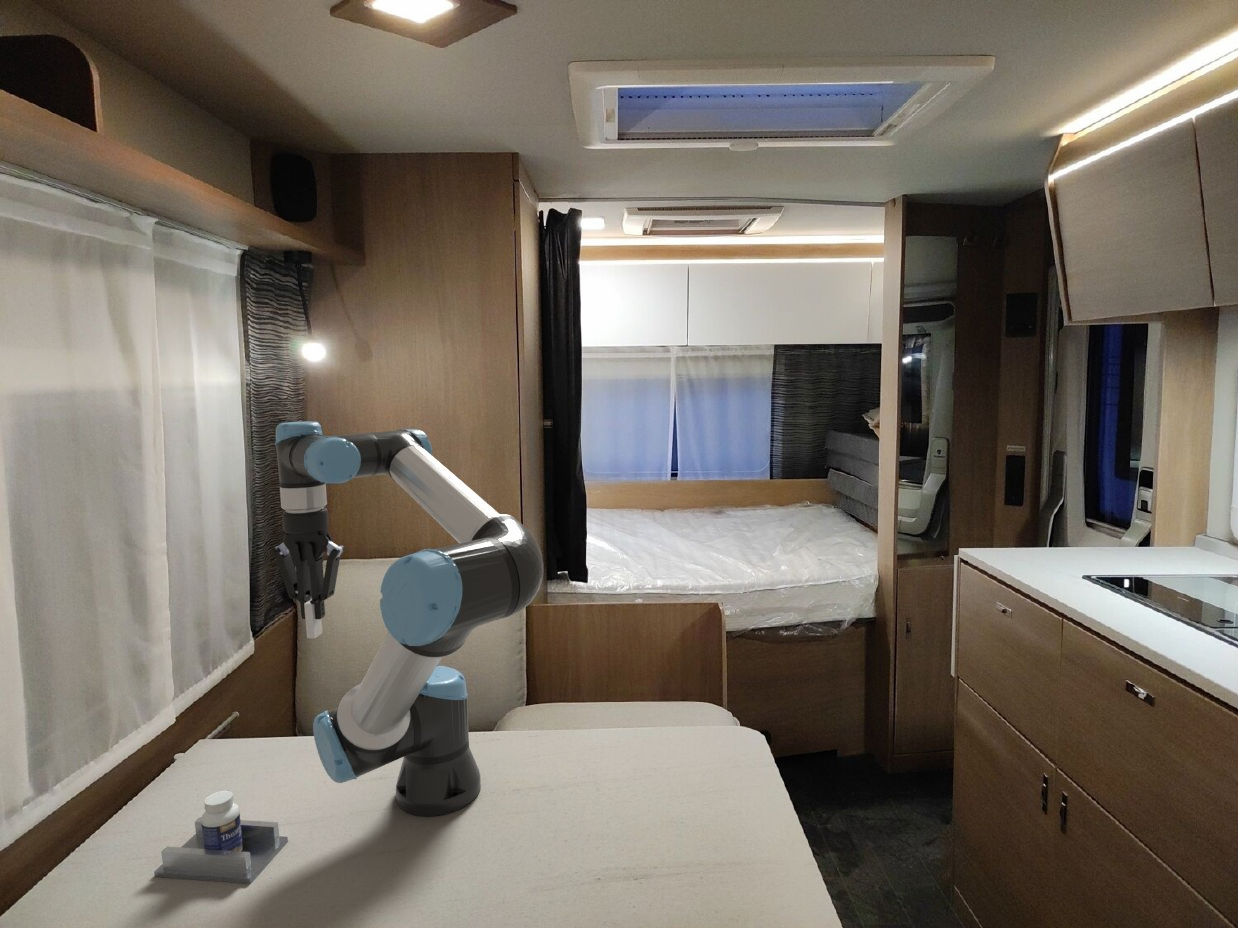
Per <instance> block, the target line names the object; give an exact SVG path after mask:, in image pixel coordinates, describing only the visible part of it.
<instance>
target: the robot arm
mask: <svg viewBox="0 0 1238 928" xmlns="http://www.w3.org/2000/svg"><path fill="white" fill-rule="evenodd" d="M274 446H275V449H276V458H277V468H278V481H279V494H280V495H279V497H280V508H282V509H283V510H284V511H283V512H282V513H281V518H282V519H281V520H282V529H283V530H282V531H283V532H284V536H283V538H282V543H280V544H279V545H277V546H275V547H273V548H271V554H272V555H273V556H274V558H275V560H276V561H277V563H278V566H279V570H280V573H281V576H282V579H283V583H284V585H285V589H286V592H287V595H288V598H289V599H290V600H297V602H299V604H300V605H299V606H300V617H301V619H302V620H305V630H306V638H307V639H316V638H318V637H319V636H320V635H322V634H323V622H322V619H323V618H325V616H326V609H325V607H326V606H325V601H326V600H328V599H329V598H331V597H333V596H334V595H335V591H336V584H337V578H338V572H339V566H340V559H341V558H342V557H341V556H342V555H343V553H344V552H345V546H343V544H340V545H338V544H336V543H334V542H333V541H332V536H331V535H330V533H329V526H330V524H329V523H330V522H329V520H330V519H329V512H328V511H329V510H328V509H327V507H325V506H327V504H328V500H327V486H326V485H327V484H329V485H332V484H343V483H347V482H348V481H350V480H352V479H356V478H365V477H372V476H381V475H388V476H389V478H391V480H393V481H394V482H395V483H396V484H397V485H399V487H401V488H402V489H403V490H404V492H405V493H407V494H408V495H409V496H410V497H411V498H412V499H413V500H414V501H415V502H416V503H417V505H419V506H420V507H421V508H422V509H423V510H424V511H425V512H426V513H428V515H429V516H431V517H432V518H433V520H434V521H435V522H436V523H438V524H439V525H440V526H441V527H442V528H443V529H444V530H445V531H446V532H447V533H448V534H449V535H450V536H451V537H452V538H454V541H455V540H456V542H457V543H456V544H451V545H448V546H443V547H437V548H434V549H433V548H426V549H425V548H424V549H420V550H419V551H416V552H415V551H414V552H413V553H411V554H408V555H404V556H402V557H400V558H398V559H396V560H395V561H394V562H392V563H391V565H390V566H389V567H388V568H387V570H386V572H385V574H384V576H383V579H382V582H381V586H380V594H381V595H382V596H381V597H382V598H380V600H379V605H380V612H381V618H382V620H383V623H384V626H385V628H386V630H387V631H388V632H387V633H386V636H385V638H384V639H383V641H382V643H381V645H380V647H379V648H378V650H377V652H376V654H375V656H374V658H373V660H372V662H371V664H370V666H369V667H368V669H367V671H366V673H365V675H364V677H363V679H362V681H361V682H360V683H359V684H357V685H355V686H353V687H352V688H351V689H349V690H348V691H347V692H346V693H345V694H344V695H343V697H342V698H341V699H340V702H339V704H338V705H337V707H335V708H332V709H329V710H328V709H327V710H324V711H323V712H321V713H319V714H317V716H315V717H314V720H313V724H312V731H313V738H314V743H315V748H316V750H317V754H318V756H319V759H320V762H321V764H322V767H323V769H324V771H325V772H326V774H327V775H328V777H329V778H330V780H332V781H333V782H334V783H337V784H342V783H346V782H349V781H352V780H357V779H358V778H359V777H361V776H363V775H366V774H369V773H370V772H372V771H375V770H376V769H380V768H382V767H383V766H386V765H389V764H391V763H392V762H395V761H397V760H399V759H402V758H403V759H402V763H401V765H400V766H401V767H400V770H399V773H398V777H397V780H396V784H395V799H396V804H397V806H398V807H399V808H400V809H401V810H402V811H404V812H406V813H408V814H410V815H414V816H420V817H434V816H441V815H446V814H450V813H453V812H455V811H458V810H460V809H462V808H464V807H466V806H467V805H470V804H471V803H472V802H473V801H474V800H475V799H476V798H477V796H478V795H479V794H480V791H481V787H482V784H481V780H482V779H481V772H480V769H479V767H478V764H477V763H476V762H477V761H476V760H475V757H474V755H473V753H472V750H471V748H470V738H469V737H470V736H469V735H470V733H469V732H470V731H469V715H468V714H469V713H468V697H469V694H468V690H467V689H468V688H467V683H466V679H465V677H464V674H463V673H461V672H460V671H459V670H458V669H455V668H452V667H449V666H445V665H439V664H440V662H441V660H442V658H447V657H448V656H451V655H453V654H454V653H456V652H457V651H458V650H460V649H461V648H462V646H463V645H464V644H465V642H467V640H468V638H469V636H470V635H471V633H472V632H473V630H475V629H476V628H478V627H480V626H483V625H485V624H490V623H492V622H495V621H499V620H501V619H504V618H508V617H512V616H514V615H516V614H518V613H520V612H522V611H523V610H524V609H526V607H529V605H530V604H531V603H532V601H533V600H534V599H535V597H536V595H538V592H539V591H540V588H541V586H542V585H541V584H542V582H543V580H544V579H543V577H544V566H545V565H544V561H543V560H544V559H543V555H542V554H543V553H542V550H541V548H540V545H539V544H538V542H537V540H536V538H535V537H534V535H533V534H532V533H531V531H529V529H528V528H527V527H526V526H524V524H522V522H520V521H519V520H518V519H517V518H515V517H514V516H512V515H510V514H501V513H499V512H498V511H497V510H496V509H495V508H494V507H492V506H491V505H490V504H488V502H487V501H486V500H485V499H483V498H482V497H481V496H480V495H478V494H477V493H476V492H475V491H474V490H473V489H472V488H470V487H469V486H468V485H467V484H466V483H465V482H463V480H461V479H460V478H459V477H457V476H456V474H454V473H453V472H451V470H450V469H448V468H447V467H446V466H445V465H443V464H442V463H441V462H440V461H439V460H437V459H436V458H435V457H434V456H433V448H432V443H431V441H430V440H429V437H428V435H427V434H426V433H425V431H422V430H421V429H407V428H401V429H397V430H388V431H387V430H386V431H374V432H364V433H351V434H349V433H348V434H338V435H324V433H323V430H322V425H321V424H320V423H319V422H318V421H289V422H282V423H278V424H277V426H276V427H275V443H274ZM326 551H327V552H326ZM325 553H326V555H327V558H326V563H325V568H324V564H323V563H324V561H325V557H324V556H325V555H324V554H325ZM292 556H293V557H292ZM324 569H325V570H324Z"/></svg>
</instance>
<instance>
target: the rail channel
mask: <svg viewBox="0 0 1238 928" xmlns="http://www.w3.org/2000/svg"><path fill="white" fill-rule="evenodd" d="M201 817H202V816H201ZM201 817H198V818H197V819H196V820H195V821H194V829H195V834H193V835H192V837H191V838H189V839H188V840H186V842H185V843H184V844H183V845H181V846H179V847H178V846H166V847H164V849H162V851H161V859H162V860H161V861H162V862H161V863H162V864H161V865H160V866H159V867H158V868H156V869H155V870H154V871H153V872H154V873H153V875H154V877H156V878H157V877H158V878H170V879H183V880H196V881H208V882H209V881H210V882H211V881H212V882H222V883H234V884H238V883H239V884H249V885H251V884H252V883H253V882H254V881H255V879H256V878H257V877H258V876H260V873H262V871H263V870H264V869H266V867H267V866H268V865H269V863H270V862H271V861H272V860H273V859H274V858H275V857H276V855H277V854H278V853H279V852H280V851H281V850H282V849H283V847H284V846H286V844H287V843H288V842H289V837H288V836H282V835H280V832H279V822H278V821H263V820H261V821H260V820H249V819H248V820H246V819H240V822H241V832H242V845H243V848H242V851H241V852H240V851H225V850H211V849H204V845H203V834H202V825H201Z"/></svg>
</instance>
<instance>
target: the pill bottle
mask: <svg viewBox="0 0 1238 928" xmlns="http://www.w3.org/2000/svg"><path fill="white" fill-rule="evenodd" d="M203 802H204V810H205V811H204V812H203V814H201V825H202V834H203V845H204V849H211V850H225V851H240V852H241V851H242V848H243V845H242V832H241V822H240V820H241V811H240V808H239V805H238V804H237V803H235V802H234V794H233V792H232V791H230V790H219V791H217V792H213V793H211V794H210V795H208V796H207V797H206V798H205V799H204V801H203Z"/></svg>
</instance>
